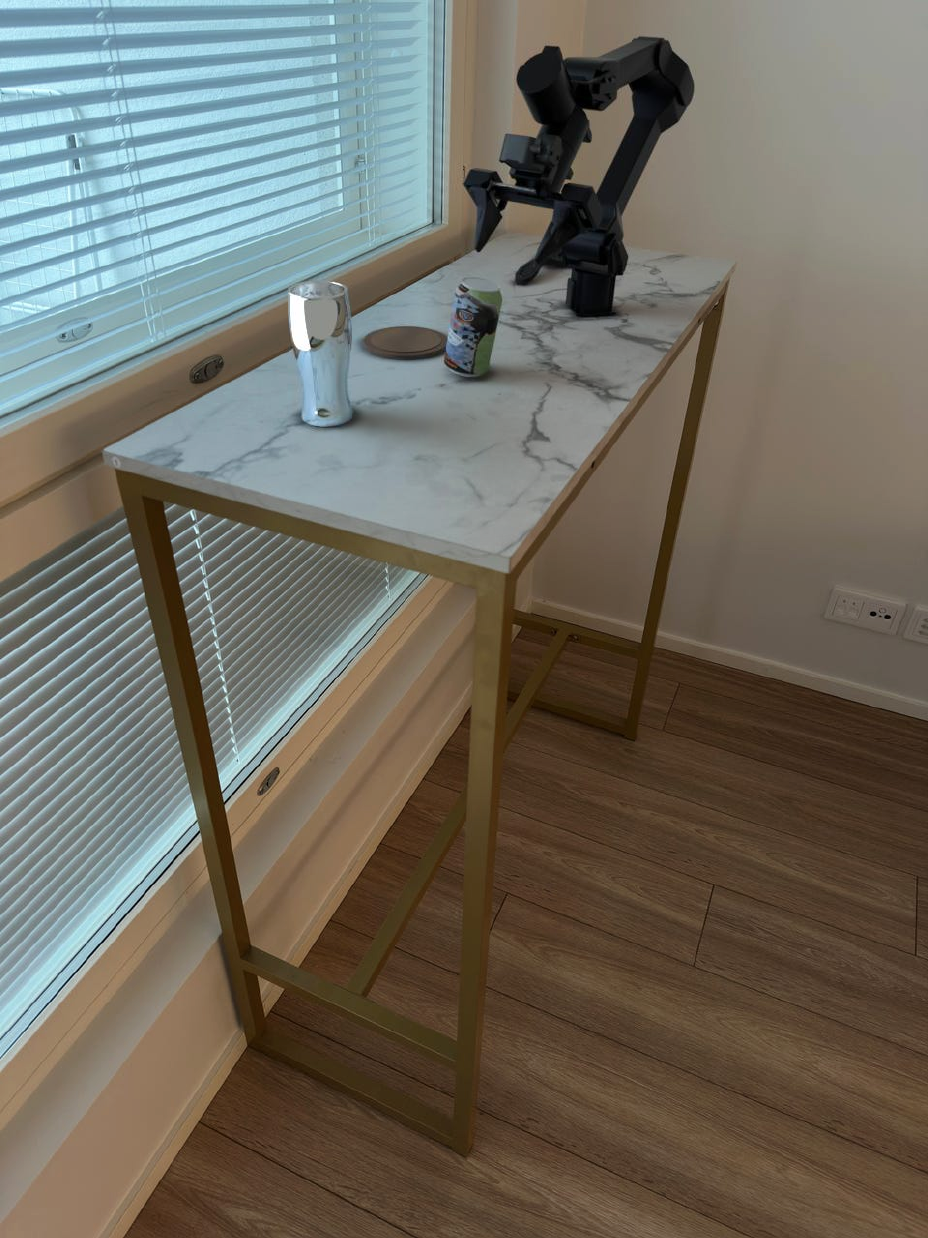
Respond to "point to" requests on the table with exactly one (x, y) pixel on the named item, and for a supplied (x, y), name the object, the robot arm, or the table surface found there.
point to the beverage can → (473, 327)
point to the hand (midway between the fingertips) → (506, 256)
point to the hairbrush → (536, 267)
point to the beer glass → (322, 349)
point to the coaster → (405, 342)
